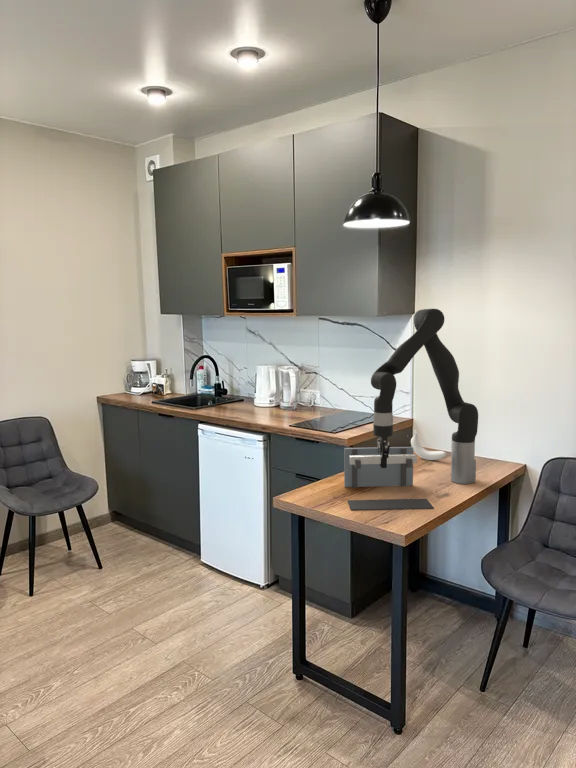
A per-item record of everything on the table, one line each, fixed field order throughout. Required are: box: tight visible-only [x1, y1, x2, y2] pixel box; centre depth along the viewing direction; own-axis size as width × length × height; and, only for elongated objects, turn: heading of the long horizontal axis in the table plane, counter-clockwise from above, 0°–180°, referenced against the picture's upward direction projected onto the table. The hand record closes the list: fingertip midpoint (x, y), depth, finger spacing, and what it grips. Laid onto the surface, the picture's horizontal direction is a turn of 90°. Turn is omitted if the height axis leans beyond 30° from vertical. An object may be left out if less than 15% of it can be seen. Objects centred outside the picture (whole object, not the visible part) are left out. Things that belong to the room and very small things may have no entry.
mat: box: [347, 498, 435, 511], centre depth 212 cm, size 30×10×1 cm, turn 91°
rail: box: [350, 453, 418, 465], centre depth 224 cm, size 26×2×3 cm, turn 91°
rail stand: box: [343, 446, 414, 489], centre depth 228 cm, size 28×13×16 cm, turn 91°
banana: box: [410, 429, 447, 461], centre depth 274 cm, size 5×19×15 cm, turn 49°
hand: (383, 466), depth 224 cm, fingers closed on rail, 2 cm apart
